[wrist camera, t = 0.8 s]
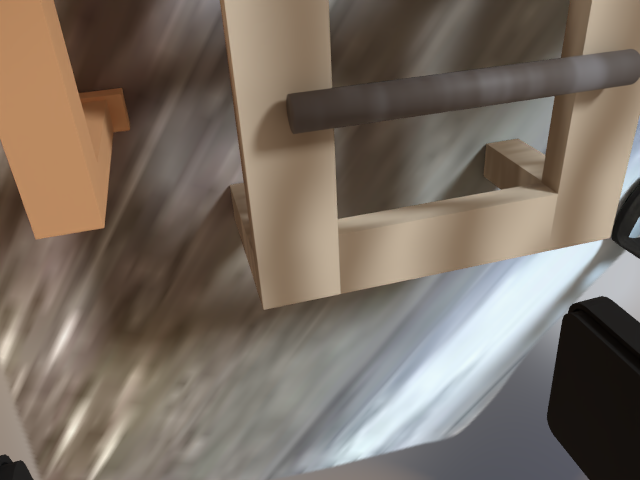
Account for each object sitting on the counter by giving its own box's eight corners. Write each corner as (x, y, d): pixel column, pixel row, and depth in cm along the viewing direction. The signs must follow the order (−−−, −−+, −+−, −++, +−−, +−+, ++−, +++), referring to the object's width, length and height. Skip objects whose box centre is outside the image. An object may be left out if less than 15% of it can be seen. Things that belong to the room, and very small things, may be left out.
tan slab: (54, 133, 32) (14, 248, 21) (-7, -70, 27) (-101, -54, 16) (129, 123, 32) (127, 228, 22) (84, -76, 27) (52, -64, 17)
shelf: (234, 218, 37) (269, 329, 27) (179, -159, 27) (204, -196, 17) (513, 170, 41) (630, 251, 31) (558, -174, 31) (751, -210, 21)
